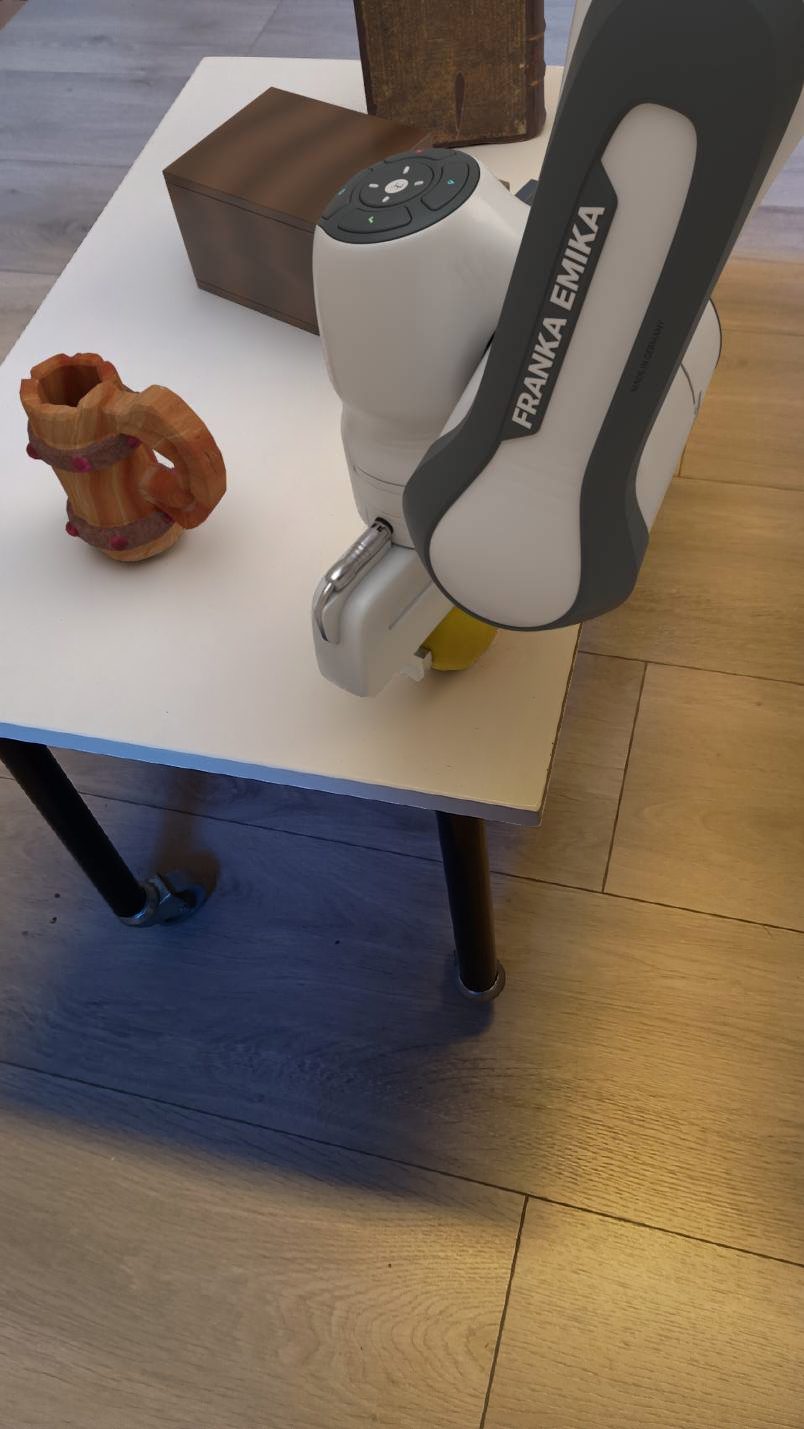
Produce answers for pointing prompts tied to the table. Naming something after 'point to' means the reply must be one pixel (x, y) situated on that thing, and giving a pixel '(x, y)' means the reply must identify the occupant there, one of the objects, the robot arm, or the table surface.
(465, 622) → the apple
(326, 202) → the cabinet
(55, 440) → the mug
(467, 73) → the book
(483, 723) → the table surface
